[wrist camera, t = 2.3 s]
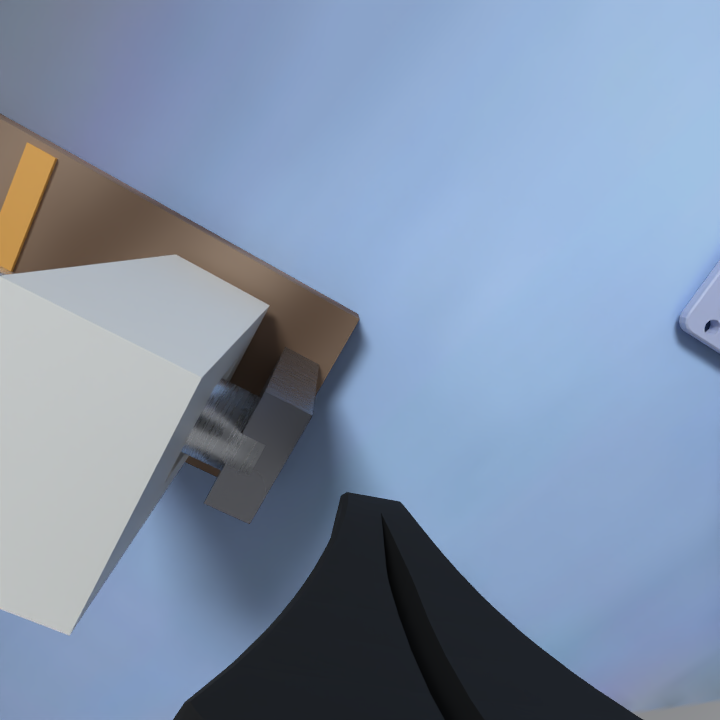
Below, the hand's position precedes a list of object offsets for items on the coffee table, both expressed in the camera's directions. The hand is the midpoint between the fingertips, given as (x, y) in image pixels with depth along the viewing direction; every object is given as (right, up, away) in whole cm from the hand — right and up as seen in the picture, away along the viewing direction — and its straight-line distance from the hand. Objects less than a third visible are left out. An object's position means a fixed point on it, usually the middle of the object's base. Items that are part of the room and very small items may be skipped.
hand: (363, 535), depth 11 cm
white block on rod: (-5, +4, +4) cm, 8 cm away
